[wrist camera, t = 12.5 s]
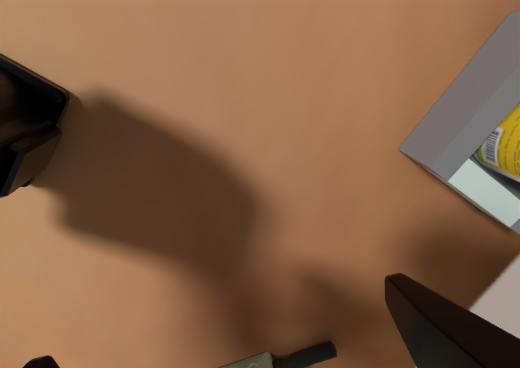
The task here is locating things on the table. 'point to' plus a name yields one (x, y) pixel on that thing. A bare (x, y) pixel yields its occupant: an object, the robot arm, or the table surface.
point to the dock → (474, 126)
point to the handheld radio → (289, 358)
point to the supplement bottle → (503, 147)
